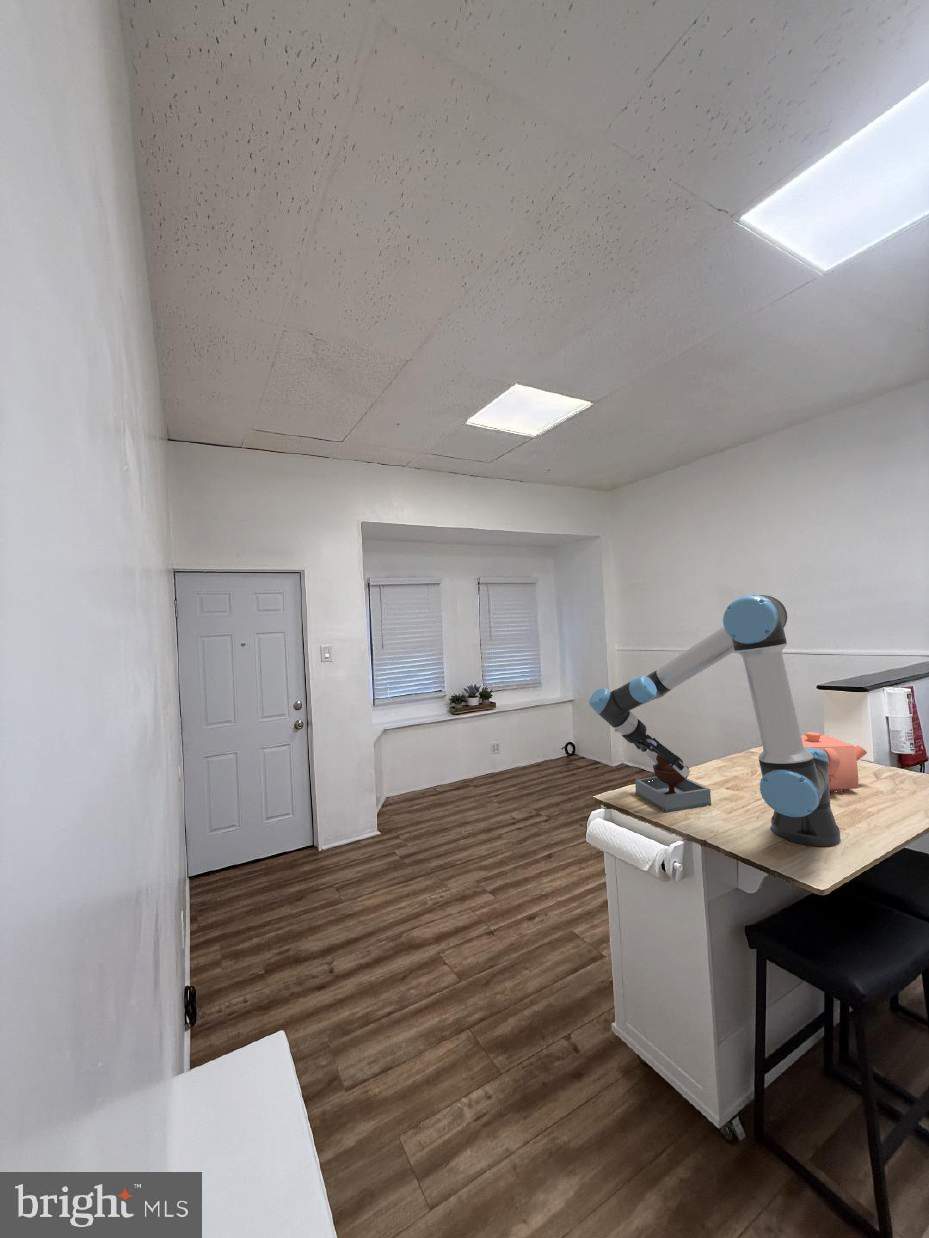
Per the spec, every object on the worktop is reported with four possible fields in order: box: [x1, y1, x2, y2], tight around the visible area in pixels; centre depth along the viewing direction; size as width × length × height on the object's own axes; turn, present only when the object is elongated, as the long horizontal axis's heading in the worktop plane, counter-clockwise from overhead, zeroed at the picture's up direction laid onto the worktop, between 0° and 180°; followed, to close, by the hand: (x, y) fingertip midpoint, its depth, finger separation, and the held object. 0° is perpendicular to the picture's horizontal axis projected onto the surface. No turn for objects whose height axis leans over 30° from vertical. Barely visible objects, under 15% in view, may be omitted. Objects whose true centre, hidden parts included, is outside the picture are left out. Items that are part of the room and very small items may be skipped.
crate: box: [634, 776, 712, 814], centre depth 157 cm, size 16×16×5 cm
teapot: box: [801, 731, 868, 793], centre depth 161 cm, size 25×23×18 cm
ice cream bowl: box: [652, 754, 690, 795], centre depth 157 cm, size 11×11×15 cm
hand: (673, 768), depth 157 cm, fingers open, 13 cm apart
